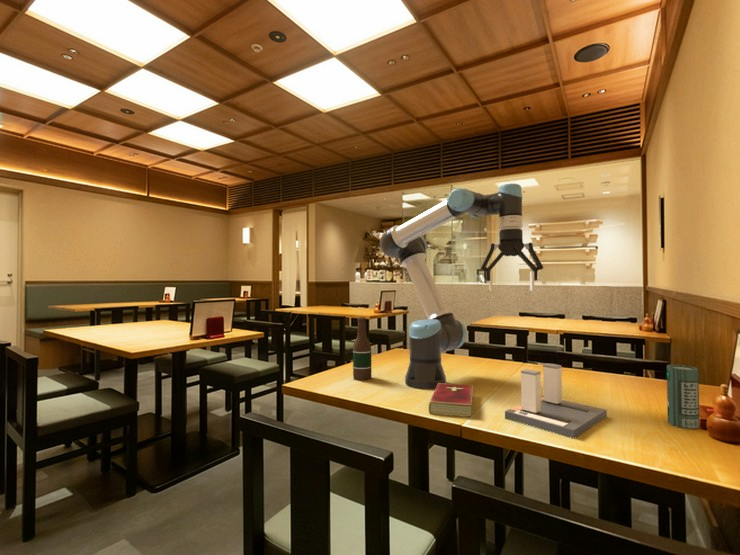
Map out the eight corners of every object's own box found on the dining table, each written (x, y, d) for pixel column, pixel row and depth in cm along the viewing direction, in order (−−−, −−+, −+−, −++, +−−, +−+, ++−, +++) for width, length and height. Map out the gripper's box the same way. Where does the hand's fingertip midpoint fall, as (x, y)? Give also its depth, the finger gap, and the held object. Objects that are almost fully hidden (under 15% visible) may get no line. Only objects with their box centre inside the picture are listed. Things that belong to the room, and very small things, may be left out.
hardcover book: (428, 415, 109) (428, 400, 109) (437, 394, 129) (437, 382, 129) (472, 419, 105) (471, 404, 105) (473, 397, 125) (473, 384, 125)
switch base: (504, 418, 104) (504, 370, 104) (542, 401, 118) (541, 359, 119) (573, 438, 90) (573, 383, 91) (606, 417, 105) (605, 369, 105)
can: (687, 420, 101) (686, 364, 102) (704, 429, 95) (703, 370, 96) (662, 420, 102) (661, 364, 102) (679, 428, 96) (677, 369, 96)
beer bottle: (349, 377, 151) (349, 317, 152) (367, 375, 155) (366, 316, 155) (357, 381, 144) (356, 318, 145) (375, 379, 148) (374, 317, 148)
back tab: (543, 400, 112) (543, 364, 112) (548, 398, 114) (547, 363, 114) (557, 403, 109) (556, 366, 109) (562, 401, 110) (561, 365, 111)
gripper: (474, 229, 130) (475, 290, 129) (552, 226, 125) (553, 290, 125) (472, 231, 137) (473, 290, 137) (546, 229, 132) (546, 290, 132)
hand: (511, 290), depth 131 cm, fingers open, 13 cm apart
